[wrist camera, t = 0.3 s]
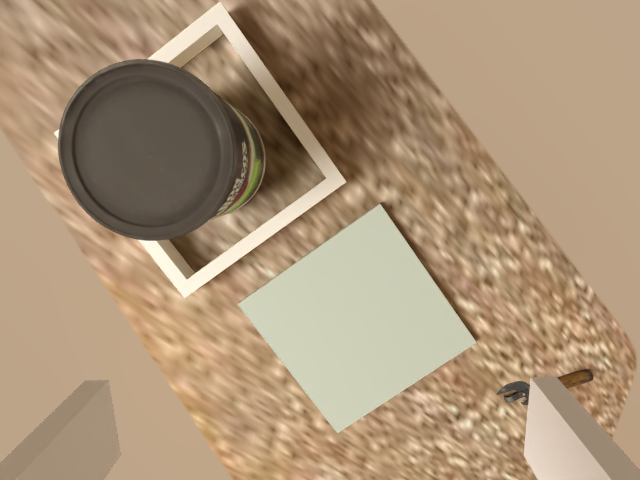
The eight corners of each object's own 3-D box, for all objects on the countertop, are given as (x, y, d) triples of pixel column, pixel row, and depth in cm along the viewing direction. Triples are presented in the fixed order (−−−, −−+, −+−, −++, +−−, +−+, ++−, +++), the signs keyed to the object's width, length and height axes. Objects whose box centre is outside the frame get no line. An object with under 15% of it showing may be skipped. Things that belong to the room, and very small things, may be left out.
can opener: (586, 367, 42) (593, 372, 41) (588, 389, 43) (596, 395, 42) (493, 383, 43) (498, 389, 42) (497, 405, 43) (501, 412, 42)
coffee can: (288, 138, 39) (269, 121, 25) (230, 236, 40) (182, 273, 26) (185, 75, 38) (106, 21, 24) (131, 178, 39) (26, 183, 25)
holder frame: (71, 135, 39) (53, 133, 36) (226, 12, 37) (219, 1, 35) (192, 290, 41) (184, 298, 38) (344, 181, 39) (346, 181, 37)
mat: (238, 302, 41) (237, 304, 40) (379, 203, 40) (380, 203, 39) (337, 429, 43) (337, 433, 43) (474, 340, 42) (476, 342, 41)
